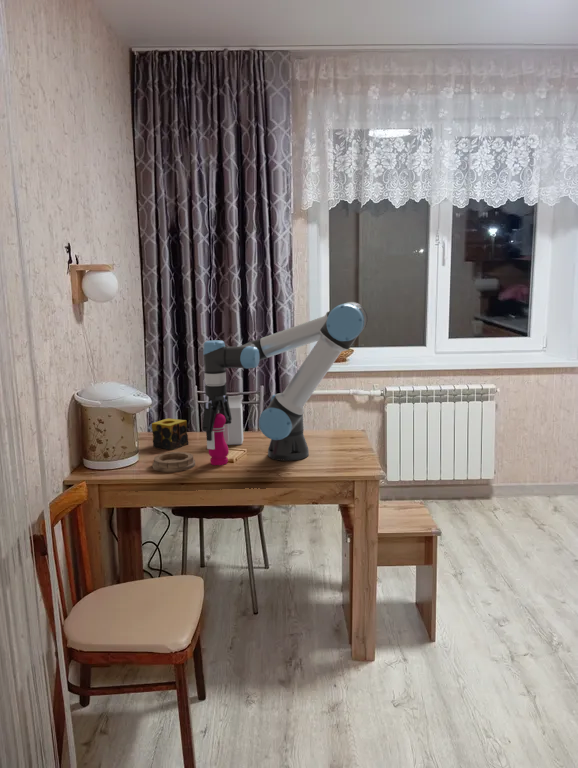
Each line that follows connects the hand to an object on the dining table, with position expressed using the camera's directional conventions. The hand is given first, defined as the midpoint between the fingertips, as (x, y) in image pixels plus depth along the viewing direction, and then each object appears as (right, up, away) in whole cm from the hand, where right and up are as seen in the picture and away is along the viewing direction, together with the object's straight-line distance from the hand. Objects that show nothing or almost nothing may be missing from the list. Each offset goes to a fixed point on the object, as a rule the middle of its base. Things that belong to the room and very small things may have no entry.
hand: (218, 445), depth 245 cm
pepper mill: (0, -7, +1) cm, 7 cm away
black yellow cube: (-22, -3, +26) cm, 34 cm away
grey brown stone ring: (-16, -7, -1) cm, 17 cm away
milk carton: (+3, -2, +29) cm, 29 cm away
